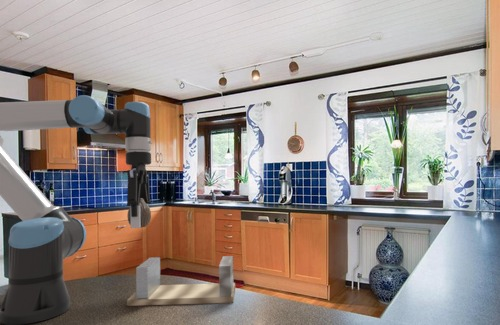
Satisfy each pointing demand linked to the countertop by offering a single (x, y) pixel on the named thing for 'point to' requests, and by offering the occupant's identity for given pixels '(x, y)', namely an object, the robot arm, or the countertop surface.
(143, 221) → the vase
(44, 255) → the robot arm
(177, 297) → the vise
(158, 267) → the block
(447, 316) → the countertop surface
